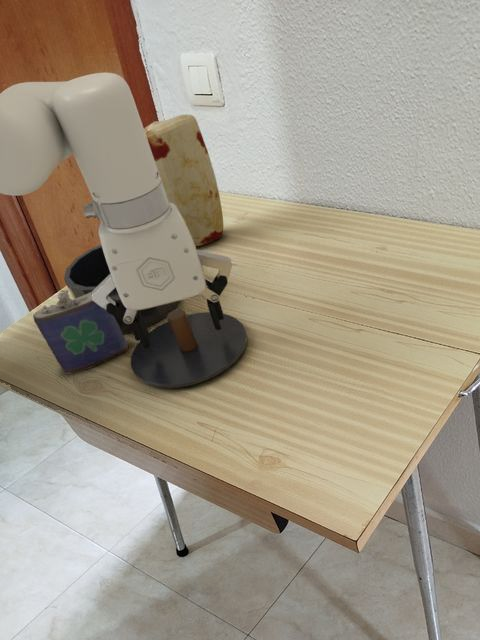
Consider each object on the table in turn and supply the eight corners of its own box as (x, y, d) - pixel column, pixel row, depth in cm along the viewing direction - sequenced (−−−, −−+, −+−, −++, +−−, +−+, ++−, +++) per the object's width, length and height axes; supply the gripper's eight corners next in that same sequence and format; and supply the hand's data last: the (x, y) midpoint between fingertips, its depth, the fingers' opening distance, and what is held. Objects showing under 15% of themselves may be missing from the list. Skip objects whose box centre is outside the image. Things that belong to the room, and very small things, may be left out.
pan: (81, 355, 82) (56, 310, 77) (91, 285, 97) (71, 243, 91) (183, 329, 83) (165, 282, 78) (178, 263, 97) (163, 220, 92)
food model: (183, 258, 98) (139, 132, 84) (171, 244, 103) (128, 122, 89) (236, 238, 101) (202, 112, 87) (223, 225, 105) (188, 103, 91)
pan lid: (132, 404, 73) (112, 366, 68) (134, 335, 84) (117, 298, 80) (255, 372, 73) (243, 332, 69) (241, 308, 84) (230, 270, 80)
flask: (127, 342, 83) (95, 275, 75) (131, 352, 81) (98, 285, 73) (62, 366, 81) (23, 300, 73) (65, 378, 79) (24, 311, 71)
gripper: (51, 238, 61) (116, 367, 73) (213, 199, 62) (251, 332, 74) (59, 210, 67) (118, 334, 79) (208, 174, 67) (244, 302, 79)
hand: (182, 333), depth 76 cm, fingers open, 9 cm apart
